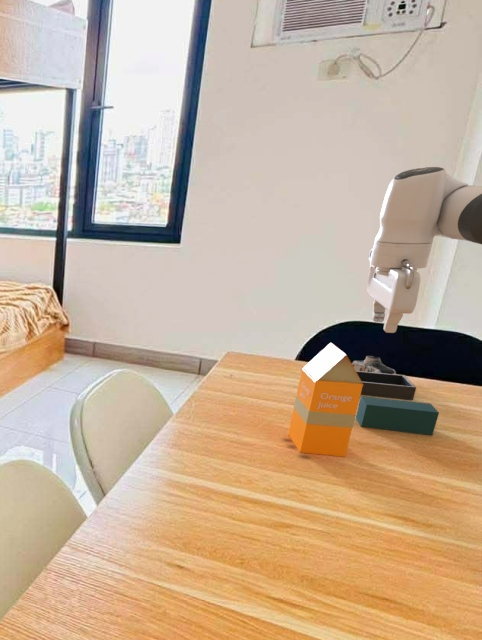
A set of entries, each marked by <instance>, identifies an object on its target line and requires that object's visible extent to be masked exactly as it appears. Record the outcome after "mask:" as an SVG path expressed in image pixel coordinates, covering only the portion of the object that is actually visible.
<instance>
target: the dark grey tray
mask: <svg viewBox="0 0 482 640" xmlns="http://www.w3.org/2000/svg"><path fill="white" fill-rule="evenodd" d="M356 372H357V374H358V376H359V378H360V379H361V381H362V383H363V387H362V391H361V395H360V396H369V397H379V398H388V399H392V398H393V399H398V400H407V401H413V400H414V398H415V394H416V390H417V386H416V385H415V384H414V383H413V382H412V381H411V380H410V379H409V378H408V377H407V376H406V375H405V374H397V373H396V374H385V373H374V372H363V371H356Z"/></svg>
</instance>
